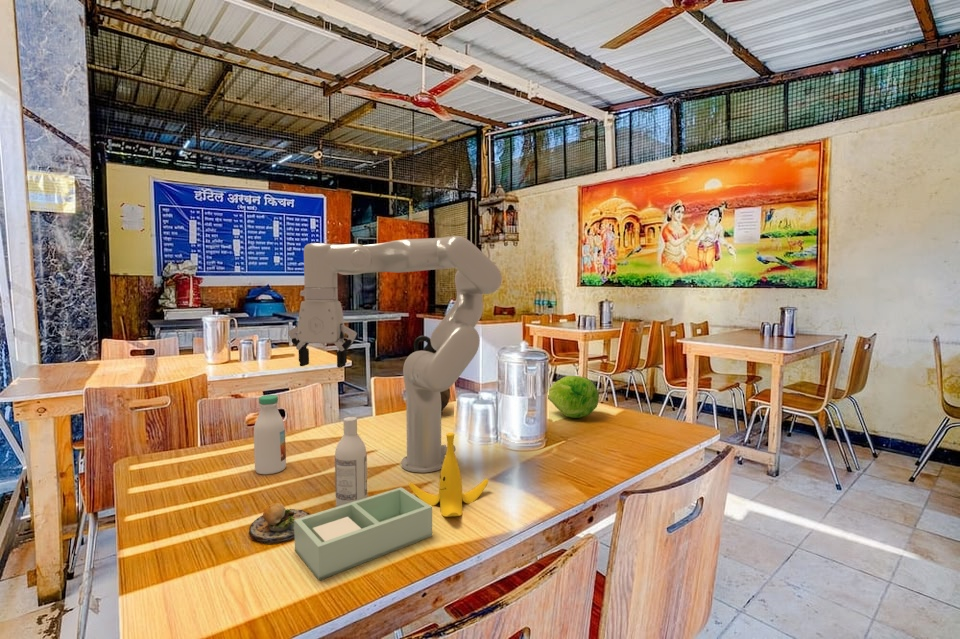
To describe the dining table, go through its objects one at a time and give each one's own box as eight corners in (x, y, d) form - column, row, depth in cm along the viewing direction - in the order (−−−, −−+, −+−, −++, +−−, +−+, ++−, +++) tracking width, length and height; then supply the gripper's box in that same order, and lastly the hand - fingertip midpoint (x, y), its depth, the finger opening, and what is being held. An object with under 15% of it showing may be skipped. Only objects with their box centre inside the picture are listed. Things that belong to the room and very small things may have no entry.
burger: (317, 535, 98) (316, 500, 97) (253, 554, 92) (252, 516, 91) (303, 510, 108) (302, 478, 107) (245, 525, 102) (243, 491, 101)
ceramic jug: (453, 409, 193) (453, 334, 190) (445, 420, 177) (445, 338, 175) (411, 407, 195) (411, 333, 192) (400, 418, 180) (399, 338, 177)
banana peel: (452, 529, 100) (452, 450, 99) (407, 497, 115) (406, 427, 114) (513, 507, 110) (513, 434, 109) (464, 479, 125) (464, 415, 124)
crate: (401, 513, 106) (401, 487, 106) (432, 536, 97) (432, 506, 97) (294, 550, 92) (294, 519, 91) (319, 580, 83) (318, 546, 82)
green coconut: (558, 408, 195) (558, 369, 194) (606, 416, 184) (607, 375, 182) (537, 417, 181) (537, 376, 180) (588, 427, 170) (589, 382, 168)
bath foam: (355, 495, 116) (354, 412, 114) (373, 503, 111) (372, 417, 110) (329, 505, 110) (327, 418, 109) (347, 514, 106) (346, 424, 104)
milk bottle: (274, 476, 126) (272, 400, 125) (248, 473, 128) (245, 399, 126) (291, 465, 134) (289, 393, 132) (266, 463, 136) (264, 392, 134)
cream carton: (348, 536, 96) (347, 516, 96) (364, 551, 90) (363, 530, 90) (312, 548, 91) (312, 528, 91) (327, 565, 86) (327, 543, 86)
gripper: (279, 295, 115) (281, 367, 116) (348, 296, 112) (349, 370, 113) (296, 294, 122) (298, 362, 123) (361, 295, 119) (362, 364, 120)
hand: (322, 366), depth 118 cm, fingers open, 9 cm apart
